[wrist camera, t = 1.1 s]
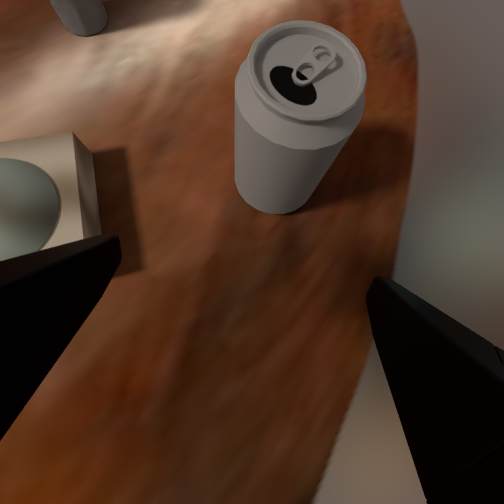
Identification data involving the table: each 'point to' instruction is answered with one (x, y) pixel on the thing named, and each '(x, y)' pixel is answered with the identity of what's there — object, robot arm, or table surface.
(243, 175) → the can
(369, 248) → the table surface
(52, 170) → the pedestal
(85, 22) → the grey cylinder
